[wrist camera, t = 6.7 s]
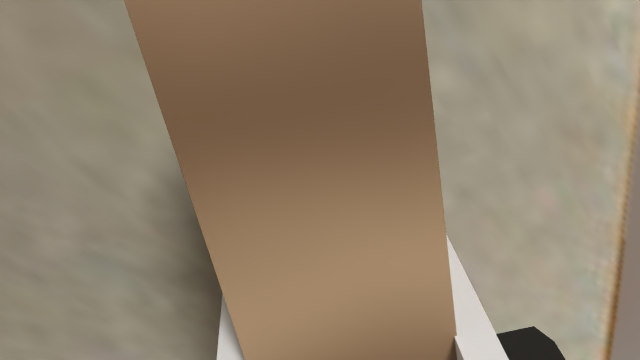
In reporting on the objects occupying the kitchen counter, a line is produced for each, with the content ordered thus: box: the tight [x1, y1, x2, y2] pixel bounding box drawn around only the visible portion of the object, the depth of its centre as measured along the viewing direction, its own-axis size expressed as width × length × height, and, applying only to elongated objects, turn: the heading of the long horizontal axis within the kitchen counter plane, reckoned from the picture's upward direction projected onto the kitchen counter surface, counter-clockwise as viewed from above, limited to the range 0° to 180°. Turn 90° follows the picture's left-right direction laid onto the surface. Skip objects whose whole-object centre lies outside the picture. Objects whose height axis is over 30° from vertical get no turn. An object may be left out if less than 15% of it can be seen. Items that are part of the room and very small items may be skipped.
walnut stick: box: [124, 0, 457, 360], centre depth 14 cm, size 20×4×4 cm, turn 11°
